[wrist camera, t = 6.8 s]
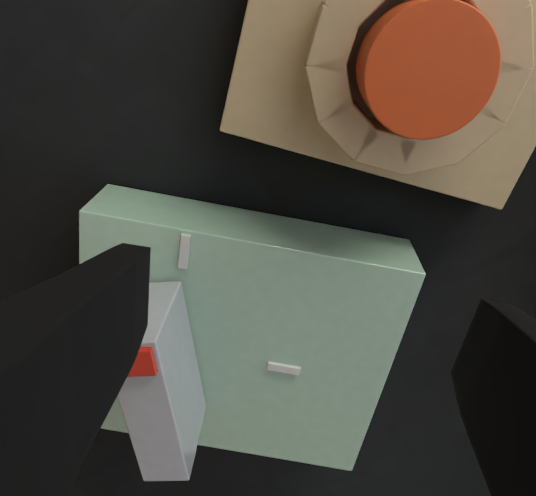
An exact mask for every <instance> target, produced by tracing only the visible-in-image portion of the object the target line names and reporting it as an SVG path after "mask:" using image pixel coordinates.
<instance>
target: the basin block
mask: <svg viewBox="0 0 536 496" xmlns="http://www.w3.org/2000/svg"><path fill="white" fill-rule="evenodd" d="M121 243H126V244H132V245H139V246H145V247H151V253H150V278H149V283H153V282H171V281H181V283H182V288H183V293H184V298H185V303H186V308H187V313H188V318H189V323H190V328H191V333H192V338H193V343H194V348H195V353H196V358H197V363H198V367H199V372H200V377H201V382H202V387H203V392H204V397H205V402H206V410H205V414H204V419H203V423H202V427H201V432H200V436H199V440H198V445H201V446H207V447H213V448H219V449H225V450H231V451H237V452H243V453H248V454H254V455H260V456H266V457H272V458H278V459H284V460H290V461H295V462H301V463H307V464H313V465H319V466H325V467H331V468H337V469H343V470H348V471H352V469H353V466H354V464H355V461H356V458H357V456H358V453H359V451H360V448H361V445H362V443H363V440H364V437H365V435H366V432H367V429H368V427H369V424H370V421H371V419H372V416H373V413H374V411H375V408H376V405H377V403H378V400H379V397H380V395H381V392H382V389H383V387H384V384H385V381H386V379H387V376H388V373H389V371H390V368H391V366H392V363H393V360H394V358H395V355H396V352H397V350H398V347H399V344H400V342H401V339H402V336H403V334H404V331H405V328H406V326H407V323H408V320H409V318H410V315H411V312H412V310H413V307H414V304H415V302H416V299H417V296H418V294H419V291H420V289H421V286H422V283H423V281H424V278H425V275H426V273H425V271H424V269H423V267H422V265H421V263H420V261H419V259H418V256H417V254H416V252H415V250H414V248H413V246H412V244H411V242H410V240H409V239H403V238H398V237H392V236H387V235H382V234H376V233H371V232H365V231H360V230H355V229H349V228H344V227H338V226H333V225H328V224H322V223H317V222H311V221H306V220H300V219H295V218H290V217H284V216H279V215H273V214H268V213H263V212H257V211H252V210H246V209H241V208H236V207H230V206H225V205H219V204H214V203H208V202H203V201H198V200H192V199H187V198H181V197H176V196H171V195H165V194H160V193H154V192H149V191H143V190H138V189H133V188H127V187H122V186H116V185H111V184H107V185H106V186H105V187H104V188H103V189H102V190H101V191H100V192H98V193H97V194H96V195H95V196H94V197H93V198H92V199H91V200H90V201H89V202H88V203H87V204H86V205H85V206H83V207H82V208H81V209H80V210H79V264H81V263H83V262H85V261H87V260H89V259H91V258H92V257H94V256H96V255H98V254H100V253H102V252H104V251H106V250H108V249H110V248H112V247H114V246H116V245H119V244H121ZM101 429H107V430H113V431H119V432H125V433H129V432H128V429H127V425H126V422H125V419H124V416H123V412H122V409H121V406H120V403H119V399H118V396H117V398H116V399H115V401H114V403H113V405H112V407H111V409H110V411H109V413H108V415H107V417H106V419H105V420H104V422H103V424H102V426H101Z"/></svg>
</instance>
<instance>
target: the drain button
mask: <svg viewBox="0 0 536 496" xmlns="http://www.w3.org/2000/svg"><path fill="white" fill-rule="evenodd" d="M500 66H501V51H500V44H499V41H498V37H497V35H496V32H495V30H494V28H493V26H492V25H491V23H490V21H489V20H488V19H487V18H486V17H485V15H484V14H483V13H481V12H480V11H479V10H478V9H477V8H475V7H473V6H472V5H470V4H468V3H466V2H463V1H461V0H410V1H406V2H404V3H401V4H399V5H397V6H395V7H393V8H391V9H390V10H388V11H387V12H385V13H384V14H383V15H382V16H380V17H379V18H378V19H377V20H376V21H375V23H374V24H373V25H372V26H371V27H370V29H369V30H368V32H367V33H366V35H365V37H364V39H363V41H362V43H361V46H360V48H359V52H358V55H357V61H356V79H357V84H358V88H359V91H360V94H361V96H362V98H363V100H364V101H365V103H366V105H367V106H368V107H369V109H370V110H371V112H372V113H373V115H374V116H375V117H376V118H377V120H378V121H379V122H380V123H381V124H382V125H383V126H384V127H386V128H387V129H388V130H390V131H391V132H393V133H395V134H397V135H400V136H402V137H405V138H410V139H417V140H428V139H435V138H440V137H443V136H446V135H449V134H451V133H453V132H455V131H457V130H459V129H461V128H462V127H464V126H465V125H466V124H468V123H469V122H471V121H472V120H473V119H474V118H475V117H476V116H477V115H478V114H479V113H480V112H481V110H482V109H483V108H484V107H485V105H486V104H487V102H488V101H489V99H490V97H491V95H492V94H493V92H494V89H495V87H496V84H497V81H498V77H499V74H500Z"/></svg>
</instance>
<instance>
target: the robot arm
mask: <svg viewBox="0 0 536 496" xmlns="http://www.w3.org/2000/svg"><path fill="white" fill-rule="evenodd" d="M150 253H151V247H145V246H139V245H132V244H126V243H121V244H119V245H116V246H114V247H112V248H110V249H108V250H106V251H104V252H102V253H100V254H98V255H96V256H94V257H92V258H91V259H89V260H87V261H85V262H83V263H81V264H79V265H77V266H75V267H73V268H71V269H69V270H67V271H65V272H63V273H61V274H59V275H57V276H55V277H53V278H51V279H49V280H46V281H44V282H42V283H40V284H38V285H35V286H33V287H31V288H29V289H26V290H24V291H22V292H20V293H18V294H15V295H13V296H11V297H9V298H6V299H4V300H1V301H0V496H69V494H70V492H71V489H72V487H73V484H74V482H75V479H76V477H77V474H78V472H79V470H80V468H81V466H82V464H83V462H84V459H85V457H86V455H87V453H88V451H89V449H90V447H91V445H92V443H93V441H94V440H95V438H96V436H97V434H98V432H99V430H100V428H101V426H102V424H103V422H104V420H105V419H106V417H107V415H108V413H109V411H110V409H111V407H112V405H113V403H114V401H115V399H116V398H117V396H118V394H119V392H120V390H121V388H122V386H123V384H124V382H125V380H126V378H127V376H128V374H129V372H130V370H131V368H132V366H133V364H134V362H135V359H136V357H137V354H138V351H139V348H140V346H141V343H142V340H143V337H144V334H145V331H146V328H147V326H148V304H149V278H150ZM451 373H452V378H453V383H454V388H455V393H456V398H457V402H458V406H459V410H460V414H461V417H462V420H463V422H464V425H465V428H466V430H467V433H468V436H469V438H470V441H471V444H472V446H473V449H474V452H475V454H476V457H477V459H478V462H479V465H480V467H481V470H482V472H483V475H484V477H485V480H486V483H487V485H488V488H489V490H490V493H491V495H492V496H536V319H535V318H533V317H532V316H530V315H528V314H527V313H525V312H524V311H522V310H520V309H519V308H517V307H515V306H513V305H511V304H509V303H503V302H496V301H490V300H484V299H481V301H480V304H479V306H478V308H477V311H476V313H475V316H474V318H473V320H472V323H471V325H470V328H469V330H468V333H467V335H466V337H465V340H464V342H463V345H462V347H461V350H460V352H459V354H458V357H457V359H456V362H455V364H454V367H453V369H452V371H451Z"/></svg>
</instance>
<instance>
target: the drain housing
mask: <svg viewBox="0 0 536 496" xmlns="http://www.w3.org/2000/svg"><path fill="white" fill-rule="evenodd" d="M406 1H410V0H248V3H247V7H246V12H245V16H244V21H243V26H242V30H241V35H240V39H239V44H238V48H237V53H236V57H235V62H234V66H233V71H232V75H231V80H230V84H229V89H228V93H227V98H226V103H225V107H224V112H223V116H222V121H221V125H220V131H221V132H225V133H229V134H232V135H236V136H239V137H243V138H246V139H250V140H254V141H257V142H261V143H264V144H268V145H271V146H275V147H279V148H282V149H286V150H289V151H293V152H296V153H300V154H304V155H307V156H311V157H314V158H318V159H321V160H325V161H329V162H332V163H336V164H339V165H343V166H346V167H350V168H354V169H357V170H361V171H364V172H368V173H372V174H375V175H379V176H382V177H386V178H389V179H393V180H397V181H400V182H404V183H407V184H411V185H414V186H418V187H422V188H425V189H429V190H432V191H436V192H439V193H443V194H447V195H450V196H454V197H457V198H461V199H464V200H468V201H472V202H475V203H479V204H482V205H486V206H489V207H493V208H497V209H502V208H503V206H504V205H505V203H506V201H507V199H508V197H509V195H510V193H511V191H512V189H513V188H514V186H515V184H516V182H517V180H518V178H519V176H520V174H521V173H522V171H523V169H524V167H525V165H526V163H527V161H528V159H529V157H530V156H531V154H532V152H533V150H534V148H535V146H536V0H461V1H463V2H466V3H468V4H470V5H472V6H473V7H475V8H477V9H478V10H479V11H480V12H481V13H483V14H484V15H485V17H486V18H487V19H488V20H489V21H490V23H491V25H492V26H493V28H494V30H495V32H496V35H497V37H498V41H499V44H500V51H501V66H500V74H499V77H498V81H497V84H496V87H495V89H494V92H493V94H492V95H491V97H490V99H489V101H488V102H487V104H486V105H485V107H484V108H483V109H482V110H481V112H480V113H479V114H478V115H477V116H476V117H475V118H474V119H473V120H472V121H471V122H469V123H468V124H466V125H465V126H464V127H462V128H461V129H459V130H457V131H455V132H453V133H451V134H449V135H446V136H443V137H440V138H435V139H428V140H417V139H410V138H405V137H402V136H400V135H397V134H395V133H393V132H391V131H390V130H388V129H387V128H386V127H384V126H383V125H382V124H381V123H380V122H379V121H378V120H377V118H376V117H375V116H374V115H373V113H372V112H371V110H370V109H369V107H368V106H367V105H366V103H365V101H364V100H363V98H362V96H361V94H360V91H359V88H358V84H357V79H356V61H357V55H358V52H359V48H360V46H361V43H362V41H363V39H364V37H365V35H366V33H367V32H368V30H369V29H370V27H371V26H372V25H373V24H374V23H375V21H376V20H377V19H378V18H379V17H380V16H382V15H383V14H384V13H385V12H387V11H388V10H390V9H391V8H393V7H395V6H397V5H399V4H401V3H404V2H406Z"/></svg>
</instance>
